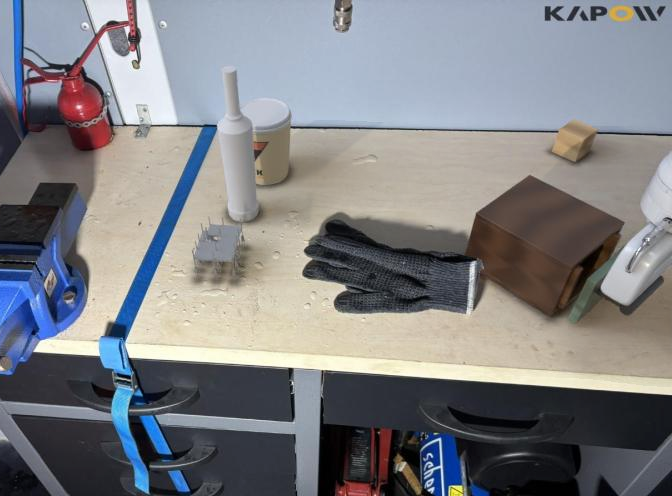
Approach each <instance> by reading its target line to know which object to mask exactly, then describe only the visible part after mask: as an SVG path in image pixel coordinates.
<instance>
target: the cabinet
mask: <svg viewBox="0 0 672 496" xmlns="http://www.w3.org/2000/svg"><path fill="white" fill-rule="evenodd" d="M625 223H626V222H625V221H624V220H622V219H620V218H618V217H617V216H613V215H612V214H609V213H608V212H605V211H604V210H602V209H599V208H597V207H596V206H594V205H592V204H589V203H588V202H585V201H584V200H581V199H579V198H577V197H575V196H574V195H572V194H569V193H568V192H565V191H564V190H562V189H559V188H557V187H556V186H554V185H551V184H550V183H547V182H545V181H543V180H541V179H540V178H538V177H535V176H533V175H531V174H529V175H527V176H525V177H524V178H523V179H521V180H520V181H518V182H517V183H516V184H514V185H513V186H512V187H510V188H509V189H507V190H506V191H505V192H503V193H502V194H500V195H499V196H497V197H496V198H494V200H492V201H491V202H489V203H487V204H486V205H485V206H484V207H482V208H480V209H479V210H478V211H476V212H475V216H474V218H473V223H472V226H471V230H470V234H469V238H468V241H467V246H466V249H465V253H464V256H469V257H473V258H479V259H481V260H482V263H483V266H484V270H483V269H481V271H480V273H479V274H481V275H482V276H484V277H485V278H487V279H488V280H490V281H492V282H493V283H495V284H496V285H498V286H499V287H501V288H502V289H504V290H506V291H507V292H509V293H511V294H512V295H514V296H516V297H517V298H519V299H520V300H521V301H523V302H525V303H527V304H528V305H530V306H532V307H533V308H535V309H536V310H538V311H539V312H541V313H542V314H544V315H546V316H547V317H549V318H550V317H552V316H553V315H554V314H555V313H557V312H558V310H559V309H561V308H560V307H558V306H557V305H558V303H559V300H560V298H561V296H562V294H563V292H564V289H565V287H566V285H567V283H568V281H569V279H570V276H571V274H572V272H573V270H574V268H575V267H576V266H578V265H579V264H580V263H581V262H582V261H583V260H585V259H586V258H587V257H588V256H589V255H590V254H592V253H593V252H594V251H595V250H596V249H597V248H598V247H600V246H601V245H602V244H603V243H604V242H605V241H607V240H608V239H609V238H610V237H611V236H612V235H614V234H615V233H616V232H617V233H618V234H620V233H621V231H622V230H623V227H624V225H625Z"/></svg>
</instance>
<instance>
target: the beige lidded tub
mask: <svg viewBox="0 0 672 496" xmlns="http://www.w3.org/2000/svg"><path fill="white" fill-rule="evenodd" d="M240 111H241V112H242V113H243V115H244V116H246V117H247V118H249V119H250V120H251V121H252V127H253V144H254V162H255V179H256V185H260V186H271V185H275V184H278V183H280V182H282V181H283V180H285V179H286V177H287V176H288V175H289V169H290V167H289V166H290V152H291V151H290V149H291V129H292V128H291V125H292V117H293V115H292V110H291V109H290V107H289V105H288V104H287V103H285V102H284V101H282V100H280V99H277V98H272V97H259V98H254V99H250V100H247V101H245V102H243V103H242V104H240Z"/></svg>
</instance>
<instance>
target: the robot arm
mask: <svg viewBox="0 0 672 496" xmlns="http://www.w3.org/2000/svg"><path fill="white" fill-rule="evenodd" d="M639 204H640V205H639V206H640V209H641V212H642V214H643V215H644V216H645V221H646V223H647V224H646V225H645V226H644V227H643V228H642V229H641V230H640V231H638V232H637V233H636V234H635V235H633V237H632V238H631V239H629V241H627V243H625V245H626V246H625V245H624V246H625V247H624V246H623V247H624V248H623V250H622V251H621V252H620V254H619V255H618V257H617V259H616V260H615V262H614V264H613V265H612V267H611V269H610V270H609V272H608V274H607V275H606V277H605V279H604V281H603V282H602V284H601V291H602V293H604V294H605V295H607V296H608V297H610V298H611V299H613V300H615V301H617V302H619V303H620V304H622V305H625V306H628V305H630V304H631V303H632V302H633V301H634V300H635V299H636V298H637V297H639V296H640V295H641V294H642V293H643V292H644V291H645V290H646V289H647V288H648V287H649V286H650V285H651V284H652V283H653V282H654V281H655V280H656V279H657V278H658V277H659V276H660V275H661V276H662V275H663V274H664V273H665V272H666V271H667V270H668V269H669V268H670V267H671V266H672V148H671V149H670V150H669V152H668V153H667V154H666V155H665V156H664V157H663V158H662V160H661V161H660V162H659V164H658V166H657V168H656V170H655V172H654V173H653V175H652V177H651V179H650V182H649V183H648V185H647V187H646V189H645V190H644V192H643V194H642V197H641V198H640V202H639Z"/></svg>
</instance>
